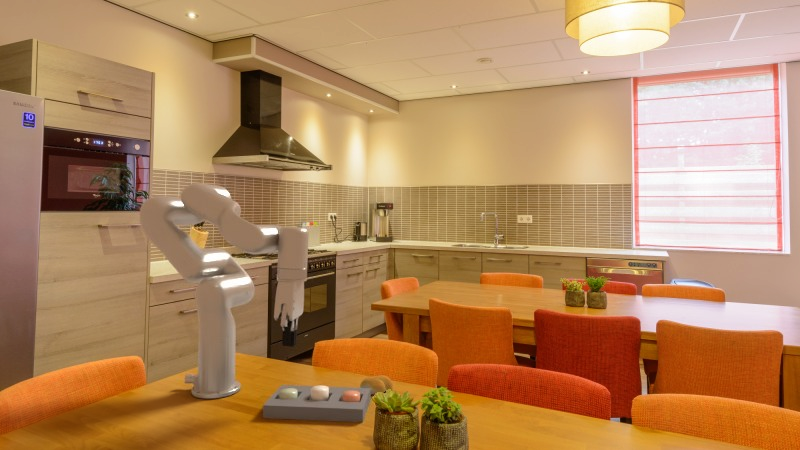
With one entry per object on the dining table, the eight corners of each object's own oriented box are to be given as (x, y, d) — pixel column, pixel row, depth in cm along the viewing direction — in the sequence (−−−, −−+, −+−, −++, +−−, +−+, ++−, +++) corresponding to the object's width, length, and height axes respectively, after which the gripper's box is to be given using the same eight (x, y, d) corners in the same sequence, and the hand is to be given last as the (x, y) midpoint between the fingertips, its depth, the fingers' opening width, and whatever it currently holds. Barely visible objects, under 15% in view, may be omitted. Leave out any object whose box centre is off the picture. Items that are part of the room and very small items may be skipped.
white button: (308, 405, 115) (308, 391, 115) (313, 398, 119) (313, 385, 119) (326, 406, 114) (326, 391, 114) (330, 399, 119) (330, 385, 119)
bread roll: (398, 389, 131) (398, 375, 131) (375, 398, 125) (375, 383, 125) (377, 382, 137) (378, 369, 137) (354, 390, 130) (355, 376, 130)
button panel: (262, 417, 110) (263, 405, 110) (281, 396, 124) (281, 384, 124) (362, 422, 109) (363, 409, 109) (370, 399, 123) (370, 388, 123)
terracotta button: (340, 410, 114) (340, 396, 114) (344, 403, 118) (344, 390, 118) (358, 411, 114) (358, 397, 114) (361, 404, 118) (361, 390, 118)
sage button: (277, 408, 115) (277, 394, 115) (282, 401, 120) (282, 387, 120) (294, 408, 115) (294, 394, 115) (299, 402, 119) (299, 388, 119)
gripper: (287, 270, 128) (285, 337, 128) (266, 277, 113) (263, 352, 113) (314, 272, 127) (311, 339, 127) (296, 279, 112) (293, 354, 112)
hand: (289, 345), depth 120 cm, fingers closed
